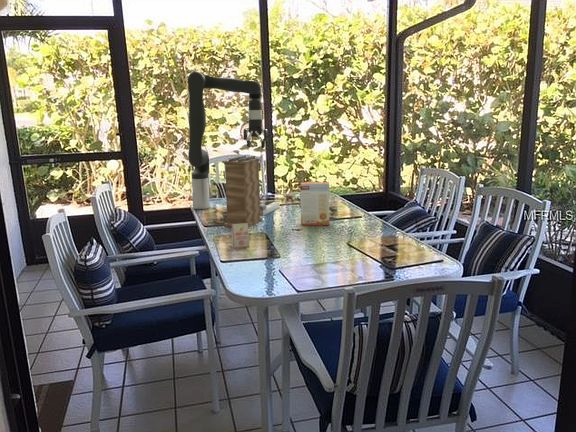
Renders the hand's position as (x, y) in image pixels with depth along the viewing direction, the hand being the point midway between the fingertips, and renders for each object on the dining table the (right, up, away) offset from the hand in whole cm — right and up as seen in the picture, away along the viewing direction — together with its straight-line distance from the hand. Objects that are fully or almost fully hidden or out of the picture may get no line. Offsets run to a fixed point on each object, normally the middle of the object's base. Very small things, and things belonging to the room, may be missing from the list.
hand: (255, 147), depth 279 cm
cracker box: (+31, -43, -32) cm, 62 cm away
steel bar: (+7, -36, -2) cm, 36 cm away
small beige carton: (-2, -51, -68) cm, 85 cm away
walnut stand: (-4, -42, -29) cm, 51 cm away
